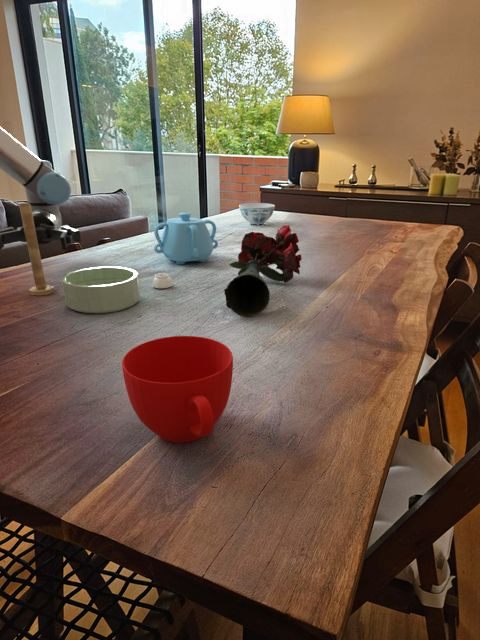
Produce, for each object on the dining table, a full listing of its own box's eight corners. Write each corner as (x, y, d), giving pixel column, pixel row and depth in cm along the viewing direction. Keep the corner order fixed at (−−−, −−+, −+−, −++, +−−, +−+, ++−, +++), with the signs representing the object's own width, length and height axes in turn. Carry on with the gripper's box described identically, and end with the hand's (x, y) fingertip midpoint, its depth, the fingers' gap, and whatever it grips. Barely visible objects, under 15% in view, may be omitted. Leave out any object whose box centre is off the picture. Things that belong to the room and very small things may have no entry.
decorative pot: (224, 257, 141) (223, 211, 135) (195, 269, 128) (193, 219, 122) (181, 251, 147) (178, 207, 141) (149, 262, 134) (144, 214, 128)
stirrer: (26, 291, 107) (7, 203, 99) (49, 287, 110) (33, 201, 102) (34, 297, 104) (15, 205, 95) (57, 292, 107) (41, 203, 98)
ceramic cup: (151, 495, 47) (141, 413, 43) (122, 413, 61) (113, 345, 57) (264, 462, 52) (265, 386, 48) (213, 393, 66) (211, 329, 62)
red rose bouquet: (254, 350, 98) (260, 291, 128) (323, 299, 92) (313, 250, 122) (203, 297, 92) (223, 248, 123) (274, 239, 86) (276, 203, 117)
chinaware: (276, 221, 201) (277, 203, 198) (271, 227, 188) (271, 208, 184) (243, 220, 203) (243, 202, 200) (235, 226, 190) (235, 206, 187)
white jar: (150, 284, 113) (154, 290, 109) (149, 273, 112) (153, 278, 108) (169, 282, 115) (175, 288, 111) (169, 271, 114) (174, 276, 110)
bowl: (55, 300, 102) (50, 274, 99) (120, 287, 111) (117, 263, 109) (84, 320, 91) (79, 291, 89) (153, 303, 101) (150, 277, 98)
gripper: (94, 240, 123) (92, 258, 104) (-9, 244, 116) (-31, 265, 98) (90, 211, 120) (87, 225, 101) (-16, 214, 113) (-40, 229, 94)
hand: (29, 244), depth 99 cm, fingers open, 13 cm apart
